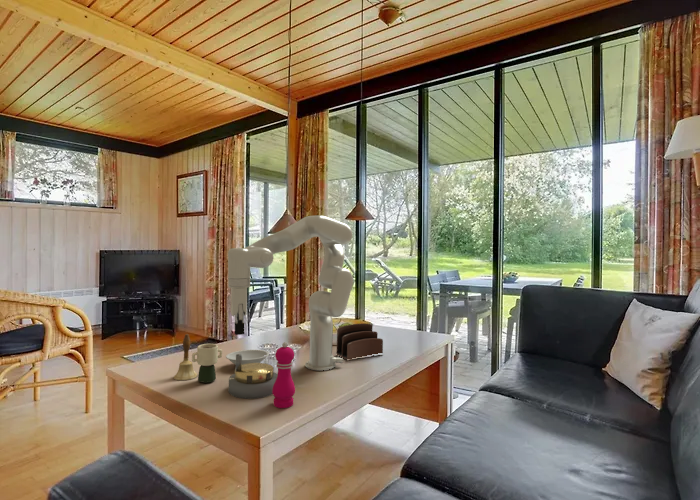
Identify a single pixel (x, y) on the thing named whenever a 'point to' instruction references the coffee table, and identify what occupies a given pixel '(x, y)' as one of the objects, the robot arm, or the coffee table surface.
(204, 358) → the character mug
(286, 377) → the pepper mill
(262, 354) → the dish
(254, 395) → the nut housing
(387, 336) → the coffee table surface
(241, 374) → the ring nut
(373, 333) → the letter holder
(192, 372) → the hand bell
